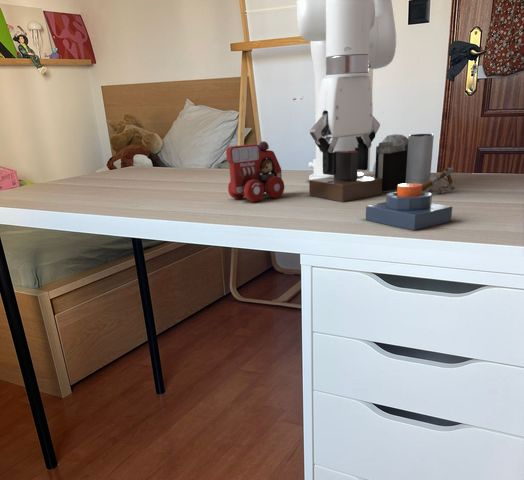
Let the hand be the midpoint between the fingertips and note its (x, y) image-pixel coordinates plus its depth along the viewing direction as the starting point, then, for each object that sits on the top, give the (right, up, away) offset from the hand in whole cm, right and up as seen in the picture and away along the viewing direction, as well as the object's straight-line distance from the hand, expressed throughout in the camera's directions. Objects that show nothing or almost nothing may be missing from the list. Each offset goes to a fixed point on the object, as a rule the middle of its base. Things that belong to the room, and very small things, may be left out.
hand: (345, 171), depth 102 cm
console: (0, -4, +2) cm, 4 cm away
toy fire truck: (-17, -4, +4) cm, 18 cm away
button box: (+6, -15, -20) cm, 26 cm away
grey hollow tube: (+14, -4, +1) cm, 15 cm away
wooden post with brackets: (+16, -5, -2) cm, 17 cm away
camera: (+11, 0, +8) cm, 14 cm away
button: (+6, -11, -22) cm, 25 cm away
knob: (0, -1, +1) cm, 1 cm away
